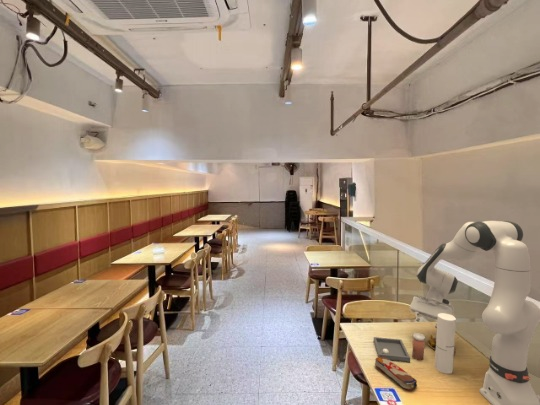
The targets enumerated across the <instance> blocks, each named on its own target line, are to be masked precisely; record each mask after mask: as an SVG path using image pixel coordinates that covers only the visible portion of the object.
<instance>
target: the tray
mask: <svg viewBox="0 0 540 405" xmlns="http://www.w3.org/2000/svg"><path fill="white" fill-rule="evenodd" d="M373 344H374V347H375V350H376V353H377V356H378V357H385V358H387V359H389V360H390V361H392V362H399V363H409V364H410V363H411V356H410V354H409V352H408V350H407V348H406V346H405V344H404V343H403V340H402V339H399V338H390V337H389V338H387V337H379V336H378V337H377V336H374V337H373ZM383 349H387V350H388V351H389V354H383V353H382V350H383ZM378 357H377V358H378Z"/></svg>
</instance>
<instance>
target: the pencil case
mask: <svg viewBox="0 0 540 405" xmlns="http://www.w3.org/2000/svg"><path fill="white" fill-rule="evenodd" d="M374 365H375V366H376V367H377V368H378V369H379V370H381V371H383V373H384V374H386V375H387V376H388V377H390V378H391V379H392V380H393V381H395V382H396V383H397V384H398V385H399V386H401V387H402V388H404V389H406V390H408V391H409V390H410V391H412V390H413V389H415V388H417V386H418V384H417V382H418V381H417V379H416V378H415V377H413V376H412V375H411V374H409V373H408V372H407V371H405V370H404V369H403V368H401V367H400V366H399V365H398V364H396V363H395V362H394V361H390V360H389V359H387V358H385V357H376V358H375V362H374Z"/></svg>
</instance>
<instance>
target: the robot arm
mask: <svg viewBox="0 0 540 405" xmlns="http://www.w3.org/2000/svg"><path fill="white" fill-rule="evenodd" d="M523 237H524V231H523V228H522V227H521V226H520V225H519V224H517V223H516V222H513V221H509V220H502V221H501V220H484V221H467V222H465V223H464V224H462V226H461V227H460V228H459V230H458V231H457V232H456V234H455V235H454V238H453V239H452V240H451V241H449V242H447V243H442V244H440V245H439V246H437V248H436V249H435V250H434V251H433V252H432V254H431V255H430V256H429V257H428V258H427V260H426V261H425V262H424V263H422V265H421V266H420V267H418V269H417V272H416V278H417V280H418V281H419V282H420V283H422V284H425V285H428V286H429V289H428V291H427V293H426V296H420V295H414V296H413V298H412V301H411V303H410V304H409V309H410V311H411V312H413V313H415V322H418V323H419V322H420V321H421V318H420V317H419V316H420V315H422V316H426V317H428V318H430V319H434V320H436V321H437V318H438V314H439V313H446V314H450V315H452V316H454V317H455V313H454V311H455V307H454V304H453V302H452V301H450V300H449V299H447V295H450V294H453V293H455V291H456V289H457V287H458V286H457V285H458V283H459V281H458V279H457V277H456V276H455V275H453V274H451V273H449V272H447V271H444V270H442V269H440V268H437V267H435V266H436V265H437V264H438V263H439V262H440V261H442V260H455V261H460V262H461V261H471V260H472V259H474V257H475V256H477V254H478V253H479V251H480V250H482V251H485V252H488V251H492V253H493V254H494V280H493V281H494V284H493V288H492V289H493V290H492V293H491V296H490V298H489V300H488V304H487V306H486V307H485V308H484V310H483V311H482V313H481V320H482V323H483V325H484V326H485V328H487V329H488V330H489V331H491V333H494V334H495V335H494V336H493V338H492V342H491V343H492V344H491V352H490V353H491V355H490V356H489V359H488V360H489V361H488V362H489V363H488V366H489V368H488V369H487V371H486V372H485V374H484V379H483V384H482V387H480V388H479V393H480V394H481V395H482V396H483V397H484V398H485V399H486V400H487V402H489V403H490V404H491V405H540V394H536V392H535V390H534V386H533V384H531V382H530V380H531V376H530V374H529V370H528V366H527V364H528V353H529V348H530V345H531V343H532V341H533V340H532V339H533V337H534V335H535V332H536V328H537V327H538V325H539V324H540V307H539V306H538V305H537V304H536V303H535V302H532V301H530V300H527V299H526V298H527V297H528V295H529V294H530V292H531V289H532V288H531V287H532V286H531V284H532V282H531V281H532V265H531V256H530V251H529V247H528V246H527V244H525V243H524V242H523V241H522V240H523ZM434 328H435V329H437V323H435V325H434Z"/></svg>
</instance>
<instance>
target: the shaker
mask: <svg viewBox="0 0 540 405" xmlns="http://www.w3.org/2000/svg"><path fill="white" fill-rule="evenodd" d="M425 340H426V337H425V334H422V333H419V332H414V333H412V351H411V352H412V353H411V356H412V359H413V360H416V361H419V362H420V361H421V362H422V361H424V358H425Z"/></svg>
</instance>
